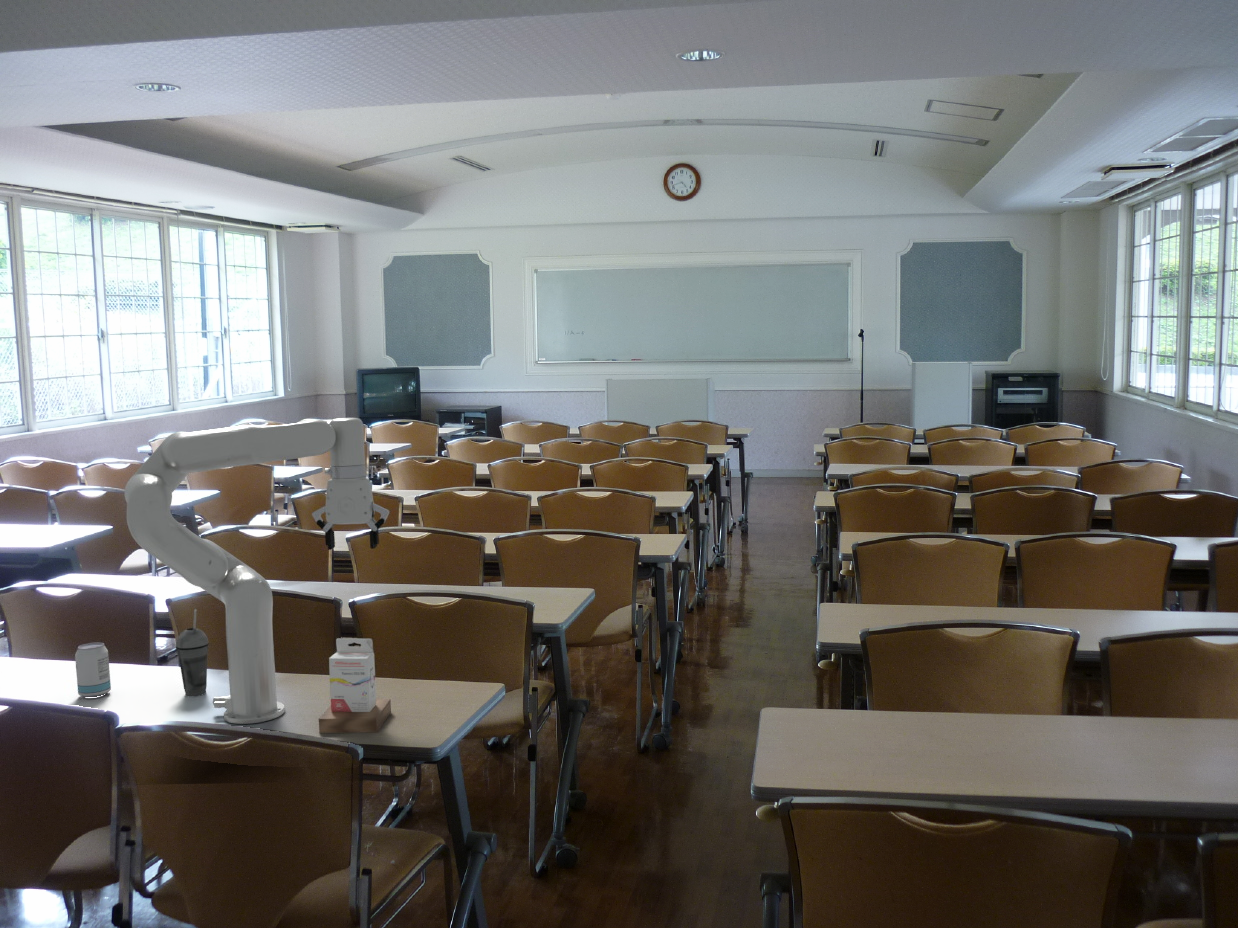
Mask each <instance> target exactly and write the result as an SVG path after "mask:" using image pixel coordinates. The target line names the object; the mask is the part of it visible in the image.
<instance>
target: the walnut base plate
mask: <svg viewBox="0 0 1238 928" xmlns="http://www.w3.org/2000/svg"><path fill="white" fill-rule="evenodd" d="M391 714H392V703H391V699H390V698H384V699H383V698H381V699H380V698H378V699H377V698H376V705H375V707H374V708H373V709H372V710H371V711H370V712H332V711H331V705H330V706H329V707H328V708H327V709H326V710H325V711H324V713H323V714H321V716H320V717H319V718H318V728H319V729H318V730H319V731H318V732H319V734H334V733H335V734H339V733H341V734H342V733H347V734H349V733H378V732H379V730H380V729H381V727H382V726H383V725H384V723H385V722H386V720H387V719H388V718H389V716H390V715H391ZM387 717H388V718H387Z"/></svg>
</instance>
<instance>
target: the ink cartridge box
mask: <svg viewBox="0 0 1238 928" xmlns="http://www.w3.org/2000/svg"><path fill="white" fill-rule="evenodd" d="M335 642H336V643H335V644H336V645H335V646H336V652H335V653H334V654H332V655H331V656H330V657H328V663H329V664H328V666H329V667H328V669H329V672H328V673H329V689H330V690H329V694H330V706H331V711H332V712H370V711H371V710H372V709H373V708H374V707H375V705H376V699H377V688H376V686H377V685H376V667H375V666H376V665H375V662H376V661H375V653H374V643H373V638H353V637H352V638H350V637H349V638H348V637H347V638H339V637H338V638H336V639H335ZM354 643H355V644H357V645H358V644H360V646H359V645H358V646H357V645H356V646H355V645H354V646H353V645H351V644H354ZM350 645H351V646H350Z"/></svg>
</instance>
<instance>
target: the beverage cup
mask: <svg viewBox="0 0 1238 928" xmlns="http://www.w3.org/2000/svg"><path fill="white" fill-rule="evenodd" d="M197 611H198V609H196V608H194V611H193V623H192V625H193V627H190V628H186V629H184V630H183V631H182V632H180V634H179V635H178V636H177V640H176V641H175V642H176V644H175V645H176V646H175V649H176V654H177V656H178V660H179V665H180V673H181V678H182V683H183V689H184V693H185V694H184V695H185V696H186V697H188V696H194V697H199V695H200V696H203V695H205V694H206V693H207V684H208V681H207V680H208V679H207V678H208V677H207V676H208V653H209V644H210V643H209V639H208V636H207V634H206V633H205V632H204V631H203V630H201V629H200V628H197V626H196V625H197ZM202 694H203V695H202Z"/></svg>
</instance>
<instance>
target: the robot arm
mask: <svg viewBox="0 0 1238 928" xmlns="http://www.w3.org/2000/svg"><path fill="white" fill-rule="evenodd" d="M328 452H329V455H330V456H329V458H330V466H329V467H328V468H325V469H324V474H325V475H329V476H330V479H328V480H327V485H326V491H325V492H326V493H325V505H324V506H322V507H320V508H318V509H317V510H315V511H313V512H312V513H311V516H312V518H313V519H314V521H315V522H316V525H317V526H318V527H320V529H322V531H323V533H324V538H325V539H324V540H325V545H326V546H327V550H333V549H334V548H335V547H336V542H335V540H336V539H335V537H336V536H335V531H334V529H333V528H334V526H335V525H362V524H366V525H367V526H368V527H369V529H370V531H369V544H370V549H372V550H373V549H376V548H377V547H378V545H379V544H380V543H379V542H380V539H379V538H380V537H379V536H380V535H379V530H380V529H381V528H382V526H383V525H384V524H385V523H386V520H387V519H388V516H389V514H390V510H389V509H387V508H384V507H383V506H381V505H379V504H376V503H375V502H374V497H373V496H374V495H373V490H372V485H371V482H370V478H369V477H367V473H366V471H367V470H366V467H367V466H366V452H365V431H364V423H363V421H362V419H361V418H359V417H337V418H333V419H318V418H304V419H302V420H299V421H297V422H296V423H289V424H287V423H286V424H279V425H278V424H277V425H276V424H275V425H255V424H248V425H247V424H243V425H235V426H228V427H223V428H214V429H212V428H211V429H208V430H198V431H197V430H196V431H191V432H188V431H177V432H172V433H171V434H170V435H168V436H167V437H166V438H165V439H164V440H163V441H162V442H161V443H160V444H159V446H158V447H157V448H156V449H155V450H154V452H153V453H152V454H151V455H150V456H149V457H148V458H147V459H146V461H144V463H143V464H141V466H140V467H139V468H138V469H137V470H136V471H135V473H133V475H131V477H130V478H129V480H128V481H127V483H126V485H125V487H124V499H125V503H126V524H127V527H128V530H129V533H130V535H131V537H132V539H134V541H135V543H136V544H138V546H139V547H140V548H142V549H143V550H144V551H145V552H147V553H148V554H149V555H151V556H152V557H154V559H157V560H158V561H159V562H161V563H162V564H164V566H166V567H168V568H169V569H171V570H172V571H174V572H175V573H176V574H178V575H179V576H181V577H182V578H183V579H184V580H185V581H186V582H188V583H189V584H190V585H192V586H195V587H197V588H200V589H202V590H203V591H205V592H207V593H208V594H209V595H211V596H213V597H214V598H216V599H217V600H219V601H221V602H222V603H223V604H224V606H225V637H226V638H225V641H226V650H227V651H226V652H227V653H226V654H227V664H228V678H229V679H228V680H229V681H228V684H229V695H227V696H222V695H221V696H219V695H217V696H214V697H213V698H212V704H213V706H214V707H213V708H215V709H217V708H218V709H220V708H224V709H225V711H224V713H223V718H224V720H225V722H228V723H230V724H236V725H247V724H248V725H249V724H259V723H263V722H267V721H271V720H274V719H276V718H279V717H280V716H282V715H283V714H284V713H285V711H286V706H285V704H284V703H282V702H280V701H278V698H277V681H276V679H277V678H276V667H275V666H276V664H275V663H276V662H275V651H274V649H275V648H274V647H275V646H274V636H273V635H274V633H273V606H274V601H273V600H274V597H273V591H272V588H271V586H270V584H269V582H268V581H267V580H266V579H265V577H263V576H262V575H261V574H260V573H259V572H257V571H256V570H255V569H254V568H252V567H251V566H249V565H248V564H246V563H245V562H243V561H242V560H240V559H239V558H237V557H235V555H233V554H231V553H230V552H228V551H227V550H226V549H224V548H223V547H221V546H220V545H218V544H216V543H215V542H214V541H212V540H209V539H207V538H201V537H200V536H199V535H197V534H196V533H194V532H192V531H191V530H190V529H189V528H187V526H185V525H183V524H182V523H180V522H179V521H177V519H175V518H174V516H173V514H172V512H171V505H172V502H173V501H172V500H173V492H175V491H176V489H177V488H178V487H179V486H180V485H181V483H182V482H183V481H184V480H185V478H187V476H188V475H189V474H193V473H195V474H196V473H200V472H201V473H202V472H208V471H214V470H219V469H226V468H227V469H228V468H235V467H242V466H249V465H259V464H265V463H270V462H277V461H288V460H295V459H303V458H309V457H316V456H320V455H324V454H326V453H328ZM375 512H376V513H379V514H380V518H379V519H378V521H376V520H375V514H376V513H375ZM324 513H325V520H326V521H325V520H324V519H323V518H322V515H323V514H324Z"/></svg>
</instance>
